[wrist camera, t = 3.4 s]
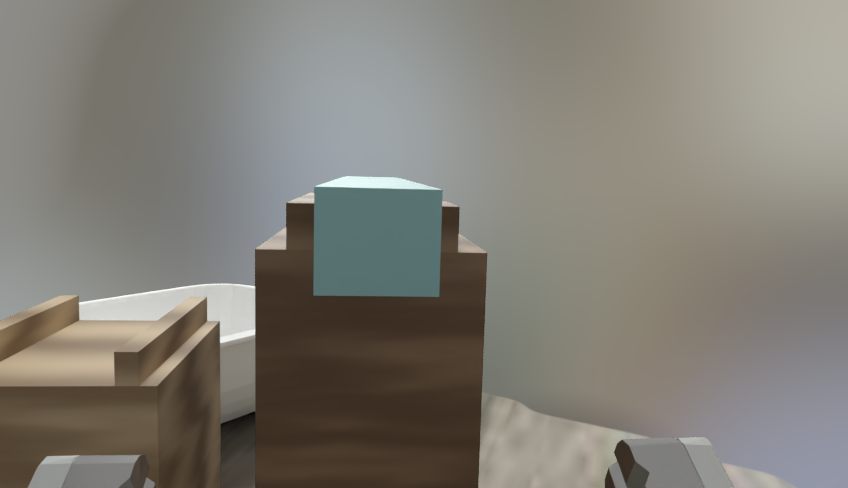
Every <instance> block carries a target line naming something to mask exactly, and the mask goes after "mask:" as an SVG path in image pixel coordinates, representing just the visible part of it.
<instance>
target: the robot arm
mask: <svg viewBox="0 0 848 488" xmlns="http://www.w3.org/2000/svg"><path fill="white" fill-rule="evenodd" d="M614 453H615V456H616V459H617V462H616V463H614V464H613V465H612V466H610V467H609V468H608V471H607V475H606V478H605V488H734V486H733V484H732V482H731V480H730V479H729V477H728V475H727V473H726V471H725V469H724V467H723V465H722V463H721V461H720V460H719V458H718V456H717V454H716V452H715V450H714V448H713V446H712V444H711V443H710V442H709V441H708V440H707V439H706V438H704V437H692V438H674V437H672V438H671V437H670V438H648V439H626V440H621V441H620V442H619V443H618V444H617V446H616V449H615V452H614ZM149 468H150V466H149V463H148V461H147V458H146V456H145V455H87V456H81V455H73V456H47V457H46V458H45V459H44V460H43V461H42V462H41V463H40V465H39V466H38V467H37V469H36V471H35V473H34V475H33V478H32V480H31V482H30V484H29V486H28V488H156V485H155V483H154V482H153V481H151V480H150V479H148V478H147V474H148V471H149Z"/></svg>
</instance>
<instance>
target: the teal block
mask: <svg viewBox="0 0 848 488" xmlns="http://www.w3.org/2000/svg"><path fill="white" fill-rule="evenodd" d="M441 224H442V190H441V189H437V188H433V187H430V186H426V185H422V184H419V183H415V182H411V181H408V180H404V179H400V178H389V177H352V176H345V177H342V178H339V179H336V180H333V181H330V182H327V183H324V184H321V185H318V186H315V187H314V284H313V295H314V296H411V297H439V288H440V256H441Z"/></svg>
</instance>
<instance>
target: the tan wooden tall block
mask: <svg viewBox="0 0 848 488" xmlns="http://www.w3.org/2000/svg"><path fill="white" fill-rule="evenodd" d="M73 455H81V456H87V455H145V456H146V458H147V461H148V463H149V466H150V468H149V471H148V474H147V478H148V479H150V480H151V481H153V482H154V483H155V485H156V488H221V410H220V321H207V297H189V298H188V299H186V300H185V301H184V302H182V303H181V304H179V305H178V306H177V307H175V308H174V309H173V310H171V311H170V312H168V313H167V314H166V315H164V316H163V317H161V318H160V319H159V320H157V321H134V320H79V296H64V295H63V296H62V295H61V296H59V297H56V298H54V299H51V300H49V301H47V302H44V303H42V304H39V305H37V306H34V307H32V308H30V309H27V310H25V311H23V312H20V313H17V314H15V315H13V316H10V317H8V318H6V319H3V320H1V321H0V488H28V486H29V484H30V482H31V480H32V478H33V475H34V473H35V471H36V469H37V467H38V466H39V465H40V463H41V462H42V461H43V460H44V459H45V458H46V457H47V456H73Z"/></svg>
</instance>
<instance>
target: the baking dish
mask: <svg viewBox="0 0 848 488" xmlns="http://www.w3.org/2000/svg"><path fill="white" fill-rule="evenodd" d="M189 297H207V321H220V410H221V424H222V423H225V422H227V421H230V420H233V419H235V418H238V417H241V416H244V415H246V414H249V413H252V412H254V411H255V287H254V286H248V285H240V284H204V285H195V286H186V287H179V288H173V289H166V290H159V291H153V292H146V293H139V294H133V295H126V296H119V297H113V298H106V299H99V300H93V301H86V302H79V320H134V321H157V320H159V319H160V318H161V317H163V316H164V315H166V314H167V313H168V312H170V311H171V310H173V309H174V308H175V307H177V306H178V305H179V304H181V303H182V302H184V301H185V300H186V299H188V298H189Z"/></svg>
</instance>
